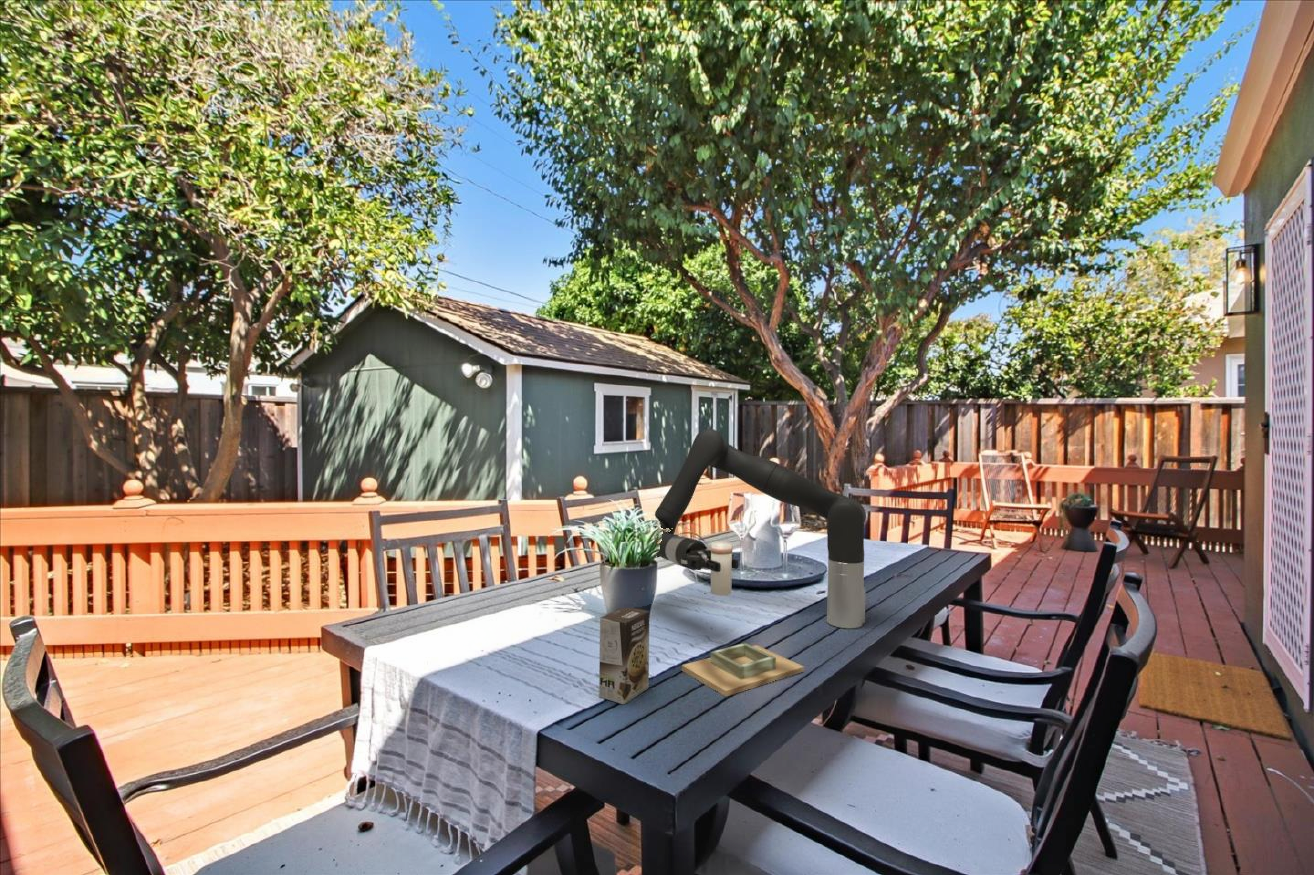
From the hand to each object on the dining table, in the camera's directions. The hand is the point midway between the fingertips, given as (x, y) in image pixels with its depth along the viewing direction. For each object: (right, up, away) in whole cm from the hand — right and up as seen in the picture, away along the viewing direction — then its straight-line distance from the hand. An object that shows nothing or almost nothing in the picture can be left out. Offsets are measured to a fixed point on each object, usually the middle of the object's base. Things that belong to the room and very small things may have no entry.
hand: (728, 566), depth 152 cm
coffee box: (-24, -21, -23) cm, 39 cm away
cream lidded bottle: (-2, -7, +2) cm, 7 cm away
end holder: (+2, -20, -13) cm, 24 cm away
